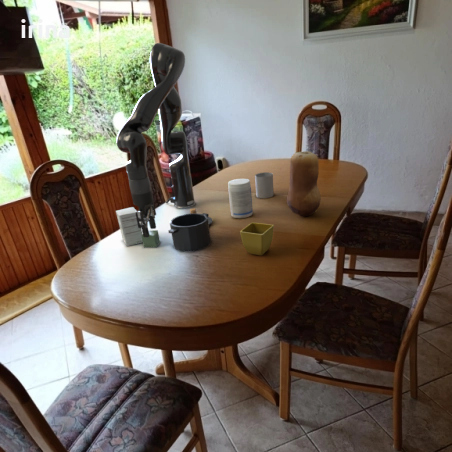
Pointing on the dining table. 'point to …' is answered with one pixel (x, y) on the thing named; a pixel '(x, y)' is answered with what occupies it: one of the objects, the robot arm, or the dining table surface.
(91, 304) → the dining table surface
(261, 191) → the cup
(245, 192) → the supplement tub
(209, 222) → the lid
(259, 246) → the flower pot
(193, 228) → the pot
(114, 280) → the dining table surface
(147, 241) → the block
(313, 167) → the butternut squash
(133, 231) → the white packaging box
